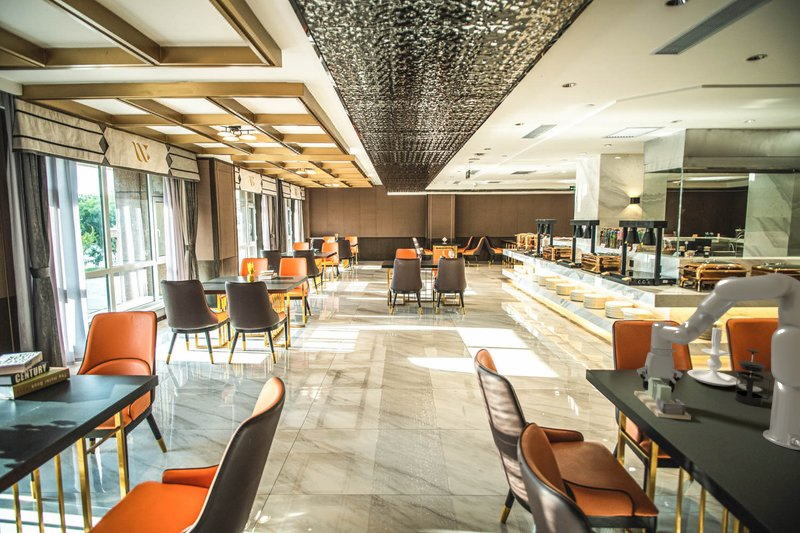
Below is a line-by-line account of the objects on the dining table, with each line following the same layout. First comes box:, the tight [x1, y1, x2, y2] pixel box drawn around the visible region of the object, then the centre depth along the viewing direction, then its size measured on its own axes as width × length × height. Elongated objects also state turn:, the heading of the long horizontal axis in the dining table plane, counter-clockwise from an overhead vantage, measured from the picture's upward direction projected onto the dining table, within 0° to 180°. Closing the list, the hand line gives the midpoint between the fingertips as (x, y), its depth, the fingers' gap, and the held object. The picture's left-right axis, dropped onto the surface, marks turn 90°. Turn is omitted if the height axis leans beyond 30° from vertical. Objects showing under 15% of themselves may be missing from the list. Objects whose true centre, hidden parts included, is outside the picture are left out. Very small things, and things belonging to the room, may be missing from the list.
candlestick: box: [686, 327, 741, 387], centre depth 201 cm, size 21×25×28 cm
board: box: [634, 390, 692, 421], centre depth 173 cm, size 23×12×6 cm, turn 171°
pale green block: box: [644, 377, 672, 403], centre depth 176 cm, size 14×4×8 cm, turn 171°
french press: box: [734, 349, 771, 407], centre depth 177 cm, size 12×9×23 cm
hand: (658, 390), depth 176 cm, fingers open, 9 cm apart
